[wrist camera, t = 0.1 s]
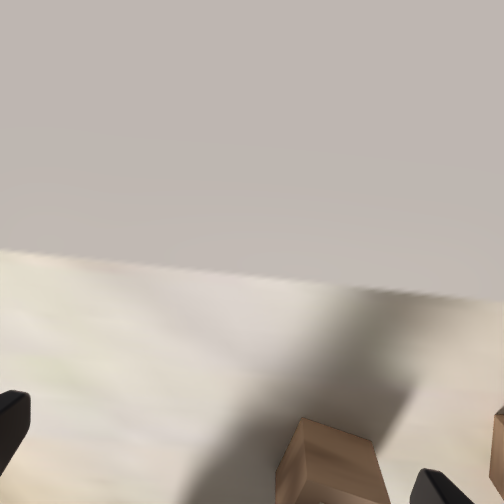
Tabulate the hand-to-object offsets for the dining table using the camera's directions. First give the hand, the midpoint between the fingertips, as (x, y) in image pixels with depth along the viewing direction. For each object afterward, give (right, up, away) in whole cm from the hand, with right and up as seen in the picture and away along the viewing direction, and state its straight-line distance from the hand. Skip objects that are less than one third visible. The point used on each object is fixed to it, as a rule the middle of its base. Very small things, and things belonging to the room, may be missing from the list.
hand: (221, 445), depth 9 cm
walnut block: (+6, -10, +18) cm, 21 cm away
